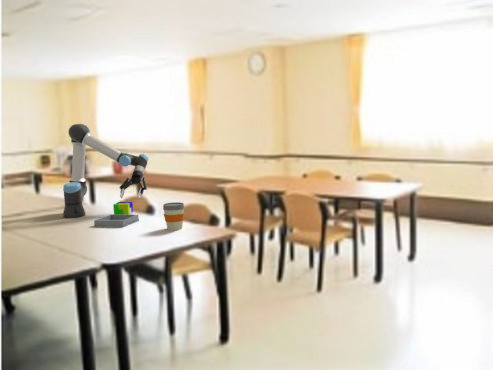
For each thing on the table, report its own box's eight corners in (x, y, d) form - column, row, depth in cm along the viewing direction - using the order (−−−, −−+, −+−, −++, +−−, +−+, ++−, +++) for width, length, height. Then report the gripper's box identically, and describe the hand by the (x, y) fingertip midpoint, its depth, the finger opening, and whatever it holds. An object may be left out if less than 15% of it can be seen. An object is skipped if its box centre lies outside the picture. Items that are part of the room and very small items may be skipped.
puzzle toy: (133, 216, 367) (132, 201, 366) (128, 218, 357) (127, 204, 356) (119, 216, 368) (118, 202, 367) (114, 219, 358) (113, 204, 357)
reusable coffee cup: (181, 231, 312) (180, 205, 310) (161, 230, 314) (159, 205, 312) (188, 226, 324) (186, 202, 322) (168, 226, 326) (167, 202, 324)
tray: (94, 226, 335) (94, 220, 334) (111, 220, 354) (110, 214, 354) (123, 227, 329) (123, 220, 329) (138, 220, 349) (138, 214, 348)
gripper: (156, 176, 381) (148, 200, 368) (124, 176, 387) (115, 200, 375) (152, 169, 375) (144, 194, 363) (120, 170, 382) (111, 194, 369)
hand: (129, 197), depth 369 cm, fingers open, 13 cm apart
